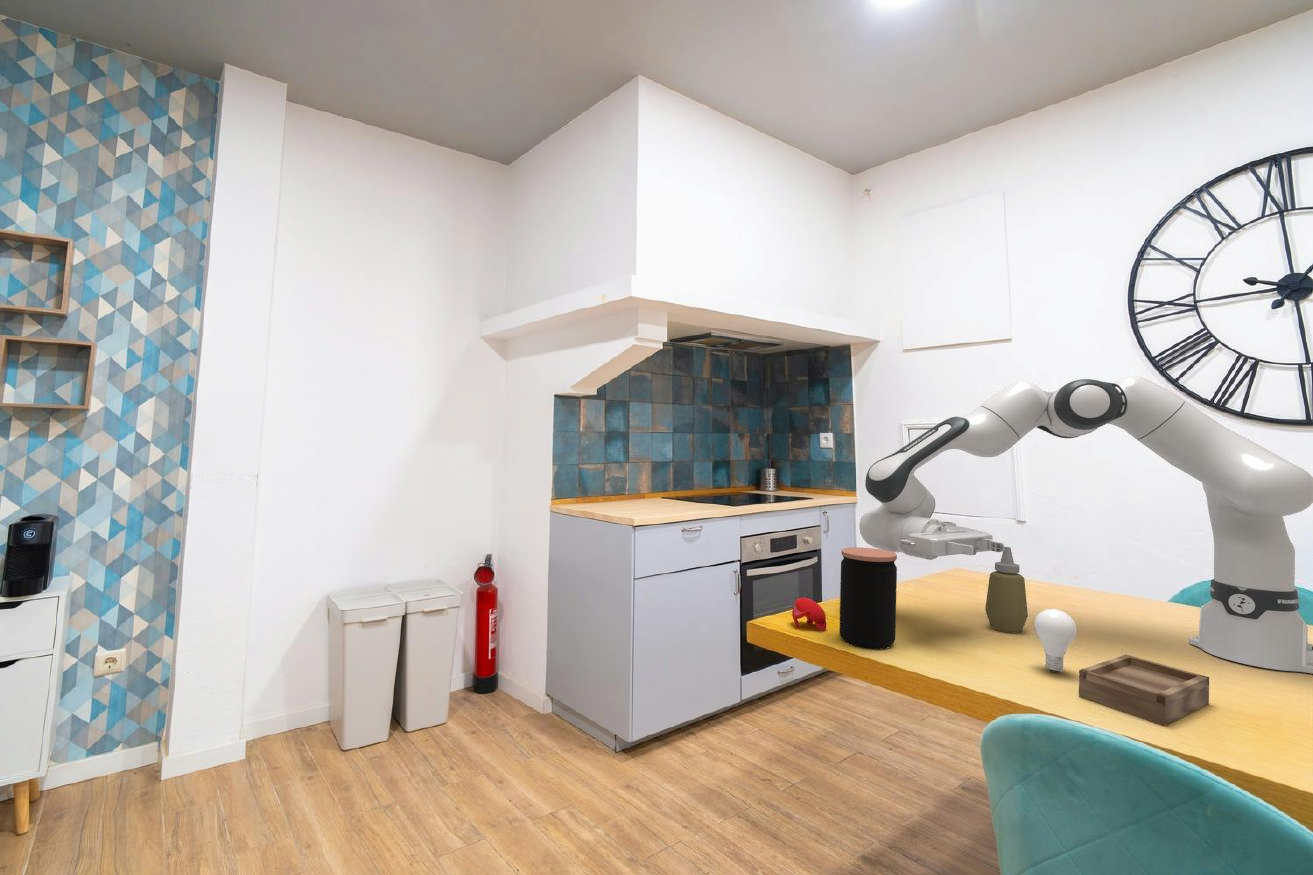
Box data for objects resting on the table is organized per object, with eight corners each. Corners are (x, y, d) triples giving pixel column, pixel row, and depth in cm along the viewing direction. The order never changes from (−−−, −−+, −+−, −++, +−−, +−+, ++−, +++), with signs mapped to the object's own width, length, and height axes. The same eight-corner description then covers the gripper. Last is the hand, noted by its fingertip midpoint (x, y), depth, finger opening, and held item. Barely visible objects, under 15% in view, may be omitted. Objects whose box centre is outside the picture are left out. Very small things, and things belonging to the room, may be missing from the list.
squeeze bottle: (1034, 636, 123) (1035, 551, 123) (992, 633, 125) (994, 549, 125) (1018, 625, 131) (1020, 545, 131) (979, 622, 133) (981, 543, 133)
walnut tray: (1125, 678, 101) (1125, 654, 101) (1208, 703, 92) (1209, 677, 92) (1078, 696, 93) (1079, 669, 93) (1164, 725, 84) (1165, 696, 84)
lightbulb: (1077, 681, 99) (1078, 616, 100) (1033, 672, 103) (1034, 610, 103) (1074, 669, 105) (1075, 608, 105) (1032, 661, 108) (1033, 602, 108)
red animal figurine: (782, 610, 126) (801, 602, 122) (794, 597, 131) (813, 588, 127) (805, 642, 125) (825, 634, 121) (816, 627, 129) (836, 619, 125)
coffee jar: (903, 641, 118) (905, 552, 118) (882, 654, 110) (884, 559, 110) (852, 629, 125) (854, 545, 125) (829, 640, 117) (831, 551, 117)
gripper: (894, 525, 121) (956, 536, 109) (954, 521, 132) (1017, 530, 120) (893, 556, 121) (955, 569, 109) (953, 549, 132) (1016, 561, 120)
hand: (988, 549), depth 115 cm, fingers open, 8 cm apart
